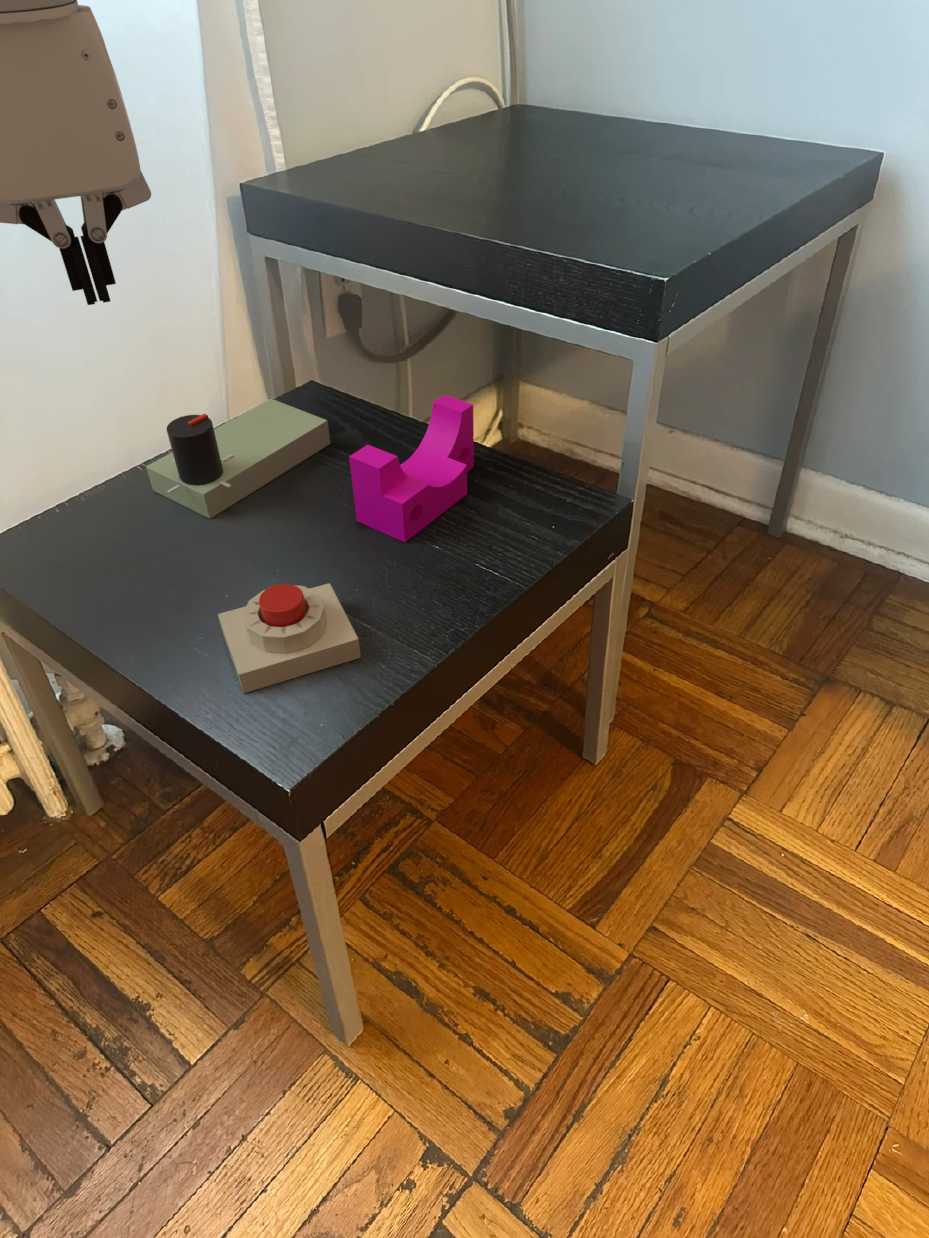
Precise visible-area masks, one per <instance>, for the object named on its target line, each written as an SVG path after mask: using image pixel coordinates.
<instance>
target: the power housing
mask: <svg viewBox="0 0 929 1238" xmlns="http://www.w3.org/2000/svg"><path fill="white" fill-rule="evenodd" d="M293 585H294V584H293ZM294 586H297V587H298V588H300V589H301V591H302V592H303V596H304V601H305V607H306V614H305V616H304V618H303V619H302V620H301V621H300V622H298V623H297V624H294V625H290V626H287V627H272V626H270V625H268V624H267V623H265V621H264V620H263V618H262V613H261V609H260V605H259V598H260V595H261V594H262V593H263V592H264V591H265V590H266V589H263V590H262V591H260V592H259V593H257V594H256V595H255V596H254V597H252V598H250V599H249V600H248V602H247V604H246V606H242V607H238V608H235V609H231V610H227V611H223V612H220V613H217V617H218V620H219V621H218V622H219V624H220V628H221V631H222V635H223V638H224V641H225V644H226V646H227V650H228V653H229V656H230V658H231V661H232V664H233V667H234V670H235V673H236V676H237V679H238V682H239V684H240V688H241V691H242V693H243V694H247V693H250V692H253V691H257V690H260V689H263V688H266V687H269V686H272V685H276V684H279V683H283V682H286V681H289V680H292V679H296V678H299V677H303V676H305V675H306V676H307V675H309V674H312V673H315V672H319V671H322V670H325V669H328V668H331V667H335V666H338V665H342V664H346V663H348V662H351V661H355V660H358V659H361V658H362V656H361V654H362V653H361V647H360V639H359V636H358V635H357V633H356V631H355V629H354V627H353V626H352V623H351V621H350V620H349V617H348V615H347V614H346V611H345V610H344V607H343V605H342V604H341V601H340V600H339V598H338V596H337V595H336V592H335V590H334V588H333V586H332V584H331V583H330V582H329V583H325V584H322V585H318V586H314V587H310V588H309V587H307V586H305V585H296V584H295V585H294Z"/></svg>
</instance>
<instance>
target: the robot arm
mask: <svg viewBox="0 0 929 1238" xmlns="http://www.w3.org/2000/svg"><path fill="white" fill-rule="evenodd" d="M76 197H80V203H81V211H82V218H83V223H82V225H81V227H80V229H81V234H82V235H80V238H79V236H76V235H75V233H74V229H73V228H72V227H71V226H69V225H67V223H66V221H65V219H64V217H63V214H62V213H61V210H60V207H59V206H58V204H57V201H56V200H61V199H69V198H76ZM151 198H152V191H151V188H150V187H149V184H148V182H147V181H146V179H145V177H144V174H143V172H142V170H141V164H140V157H139V153H138V148H137V145H136V140H135V137H134V132H133V129H132V124H131V122H130V119H129V114H128V112H127V107H126V103H125V101H124V98H123V95H122V91H121V87H120V85H119V81H118V79H117V75H116V73H115V69H114V67H113V64H112V61H111V58H110V56H109V52H108V50H107V47H106V42H105V39H104V37H103V35H102V32H101V29H100V27H99V25H98V22H97V20H96V17H95V15H94V13H93V10H92V8H91V7H90V6H89V5H82V4H79V2H78V0H0V224H10V225H24V226H26V227H28V228H29V229H31V230H32V231H34V232H35V233H37V234H39V235H40V236H42V237H44V238H45V239H46V240H48V241H49V242H51V243H52V244H53V245H54V246H55V247H56V248H58V249H59V251H60V255H61V258H62V262H63V265H64V268H65V271H66V274H67V278H68V281H69V284H70V287H71V290H72V292H75V291H81V290H83V294H84V297H85V301H86V304H87V306H92V305H96V303H97V302H98V300H99V302H103V303H110V302H111V298H110V293H109V291H108V287H107V286H113V285H116V284H117V283H116V282H117V281H116V278H115V275H114V271H113V268H112V265H111V261H110V257H109V253H108V250H107V246H106V243H105V242H106V241H107V238H108V233H109V231H110V230H111V229H112V228H113V225H114V224H115V223H116V221H117V219H118V217H119V216H120V214H121V213H122V211H124V210H125V211H126V210H129V209H131V208H133V207H136V206H138V205H140V204H143V203H145V202H147V201H150V199H151ZM80 240H81V241H80ZM80 242H81V243H80ZM81 244H82V245H81ZM82 247H83V248H82ZM83 250H84V251H83ZM84 254H85V255H84ZM87 264H88V265H87ZM88 266H89V268H88ZM89 270H90V272H89ZM90 273H91V274H90ZM91 277H92V278H91ZM92 281H93V282H92ZM93 284H94V285H93ZM94 287H95V288H94ZM95 290H96V292H95ZM96 294H97V295H96ZM97 297H98V299H97Z"/></svg>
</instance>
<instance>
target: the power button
mask: <svg viewBox="0 0 929 1238" xmlns="http://www.w3.org/2000/svg"><path fill="white" fill-rule="evenodd" d="M297 586H298V585H297ZM297 586H294V584H290V583H279V584H275V585H272V586H269V587H268V588H266V589H264V590H265V591H264V592H263V593H262V594H261V595H260V598H259V605H260V609H261V613H262V618H263V620H264V621H265V623H267V624H268V625H270V626H272V627H287V626H290V625H294V624H297V623H298V622H300V621H301V620H302V619H303V618H304V616H305V614H306V607H305V601H304V596H303V592H302V591H301V589H300V588H298V587H297Z"/></svg>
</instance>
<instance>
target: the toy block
mask: <svg viewBox="0 0 929 1238" xmlns="http://www.w3.org/2000/svg"><path fill="white" fill-rule="evenodd" d="M431 406H432V407H431V414H430V419H429V421H428V426H427V429H426V432H425V434H424V436H423V438H422V440H421V442H420V443H419V445H418V447H417V448H416V449H415V451H414V452H413V454H411V456H410V457H409V458H408V459H407V460H405V461H403V462H402V463H401V464H400V461H399V457H398V455H396V454H393V453H390V452H387V451H386V450H383V449H380V448H377V447H375V446H372V445H370V444H366V445H365V446H363V447H362V448H360V449H358V450H357V451H355V452H354V453H352V454H351V455H349V456H348V458H349V468H350V473H351V474H350V475H351V484H352V492H353V500H354V508H355V517H356V522H358V523H360V524H362V525H364V526H367V527H368V528H371V529H374V530H375V531H378V532H380V533H383V534H384V535H387V536H390V537H391V538H394V539H396V540H398V541H401V542H403V543H406V542H408V541H409V540H411V538H413V537H414V536H415V535H417V534H418V533H419V532H420V531H422V530H423V529H424V528H426V527H427V526H428V525H429V524H431V523H432V522H433V521H435V520H436V519H437V518H439V517H440V516H441V515H442V514H443V513H445V512H446V511H447V510H449V509H450V508H451V507H453V506H454V505H455V504H456V503H458V502H459V501H460V500H461V499H463V498H464V497H465V496H467V495H468V472H469V471H471V470H472V469H473V468H474V466H475V451H474V449H475V447H474V446H475V445H474V441H475V440H474V437H475V436H474V433H475V432H474V404H473V403H470V402H467V401H464V400H461V399H458V398H456V397H452V396H449V395H447V394H443V395H442V396H440V397H438V398H437V399H435V400H434V401H432V405H431Z"/></svg>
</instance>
